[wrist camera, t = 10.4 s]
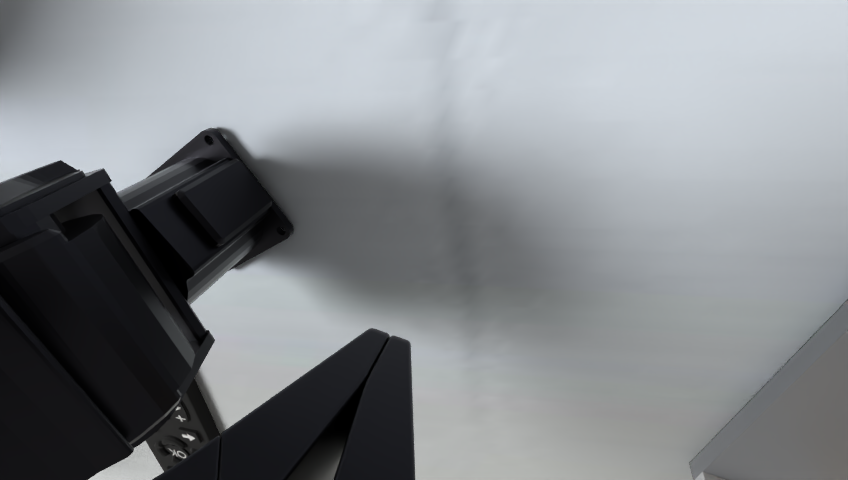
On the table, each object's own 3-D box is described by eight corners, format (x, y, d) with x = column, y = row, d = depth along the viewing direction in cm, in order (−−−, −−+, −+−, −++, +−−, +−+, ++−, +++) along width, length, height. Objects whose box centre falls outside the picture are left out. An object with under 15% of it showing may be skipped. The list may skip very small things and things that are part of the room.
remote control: (203, 506, 47) (189, 525, 45) (57, 245, 31) (28, 260, 29) (266, 523, 45) (254, 544, 43) (145, 254, 29) (120, 271, 27)
